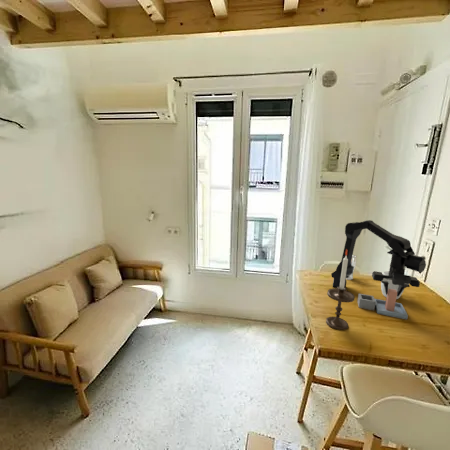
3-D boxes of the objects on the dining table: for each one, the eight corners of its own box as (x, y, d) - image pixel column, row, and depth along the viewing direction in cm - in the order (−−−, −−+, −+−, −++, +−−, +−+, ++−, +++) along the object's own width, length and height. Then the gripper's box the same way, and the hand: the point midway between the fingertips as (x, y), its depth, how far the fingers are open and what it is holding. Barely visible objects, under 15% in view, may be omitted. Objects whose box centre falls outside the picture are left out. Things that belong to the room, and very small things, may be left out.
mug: (386, 289, 155) (389, 268, 153) (407, 296, 147) (412, 274, 144) (375, 295, 146) (379, 273, 143) (398, 304, 138) (402, 280, 135)
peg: (386, 310, 129) (389, 291, 127) (385, 307, 132) (388, 288, 130) (393, 311, 128) (397, 292, 126) (392, 308, 131) (395, 289, 129)
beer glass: (354, 280, 166) (358, 257, 163) (343, 279, 167) (346, 256, 164) (352, 276, 172) (355, 254, 169) (340, 275, 174) (343, 253, 171)
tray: (377, 314, 127) (378, 309, 126) (373, 303, 138) (374, 298, 137) (406, 320, 123) (407, 315, 122) (400, 308, 134) (401, 303, 133)
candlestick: (344, 334, 110) (356, 254, 103) (319, 323, 117) (328, 248, 110) (353, 324, 118) (365, 249, 111) (329, 314, 125) (338, 243, 118)
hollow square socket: (358, 308, 132) (360, 299, 131) (357, 302, 138) (358, 293, 137) (373, 311, 130) (375, 301, 129) (371, 304, 136) (373, 296, 135)
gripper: (378, 267, 121) (372, 298, 124) (426, 274, 115) (419, 307, 118) (374, 259, 131) (369, 289, 135) (418, 265, 125) (412, 296, 128)
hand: (391, 295), depth 128 cm, fingers open, 4 cm apart
